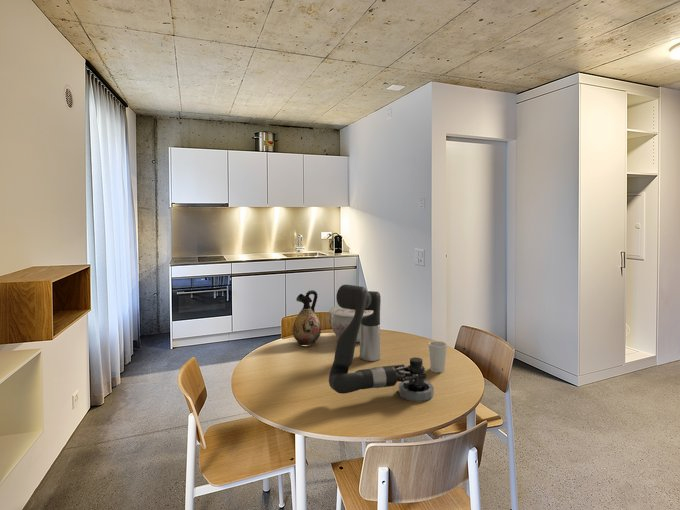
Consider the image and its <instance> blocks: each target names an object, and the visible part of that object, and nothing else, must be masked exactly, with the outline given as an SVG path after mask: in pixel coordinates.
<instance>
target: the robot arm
mask: <svg viewBox="0 0 680 510" xmlns="http://www.w3.org/2000/svg"><path fill="white" fill-rule="evenodd" d="M381 297H382V296H381V293H380V292H379V291H372V290H370V291H368V290H367V289H366V287H364V286H358V285H355V284H354V285H352V284H342V285H341V286H339V288H338V289H337V291H336V298H335V299H336V303H337V306H340V307H341V308H345V309H352V310H355V314H354V317H353V319H352V321H351V323H350V324H349V325H348V327H347V328H346V329H345V330H344V331H343V333H342V334H341V335H340V337H339V338H337V341H336V345H335V352H334V357H333V362H332V365H331V368H330V371H329V376H328V385H329V387H330V388H331V389H332V390H334V391H335V392H336V393H338V394H343V395H344V394H350V393H354V392H357V391H360V390H367V389H368V390H369V389H381V388H387V387H395V386H396V384H397V383H398V382H399V383H401V382H404V385H410V384H416V383H418V380H421V379H425V380H426V379H427V373H426V372H425V373H418V374H413V373H411V372H407V367H408V366H409V365H408V366H407V365H405V364H395V365H393V364H392V365H384V366H375V367H371V368H364V369H358V370H356V371H355V372H349V369H350V367H351V365H353V363H354V362H353V361H354V357H355V356H354V355H355V350H356V349H355V348H356V343H357V342H356V339H357V335H358V332H359V328H360V325H361V339H360V342H359V359H362V360H363V361H367V362H376V361H379V360H380V359H381ZM364 310H373V313H372V314H370V315H368V316H365V317H363V313H364ZM362 317H363V318H362ZM408 375H409V377H408Z"/></svg>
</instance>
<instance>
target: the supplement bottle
mask: <svg viewBox="0 0 680 510" xmlns="http://www.w3.org/2000/svg"><path fill="white" fill-rule="evenodd" d="M423 364H424V363H423V359H422V358H420V357H411V358H409V365H408V367H407V372H411V373H413V374H418V373H426V367H424V365H423ZM408 377H409V375H408ZM425 381H426V379H421V380H418V383H416V384H410V385H407V389H408V390H409V391H414V392H422V391H424V389H425Z"/></svg>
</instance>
